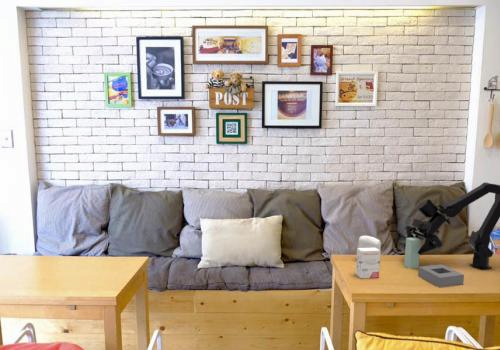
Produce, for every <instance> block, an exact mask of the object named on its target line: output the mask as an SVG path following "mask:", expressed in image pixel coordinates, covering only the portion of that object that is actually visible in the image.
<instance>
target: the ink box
mask: <svg viewBox="0 0 500 350" xmlns="http://www.w3.org/2000/svg"><path fill="white" fill-rule="evenodd" d="M355 260H356V261H355V263H356V265H355V275H356V277H358V278H359V279H370V278H371V279H372V278H373V279H374V278H375V279H376V277H378V278H379V277H380V265H381V264H380V263H381V249H380V250H378V249H377V248H358V247H357V248H356V259H355Z"/></svg>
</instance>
